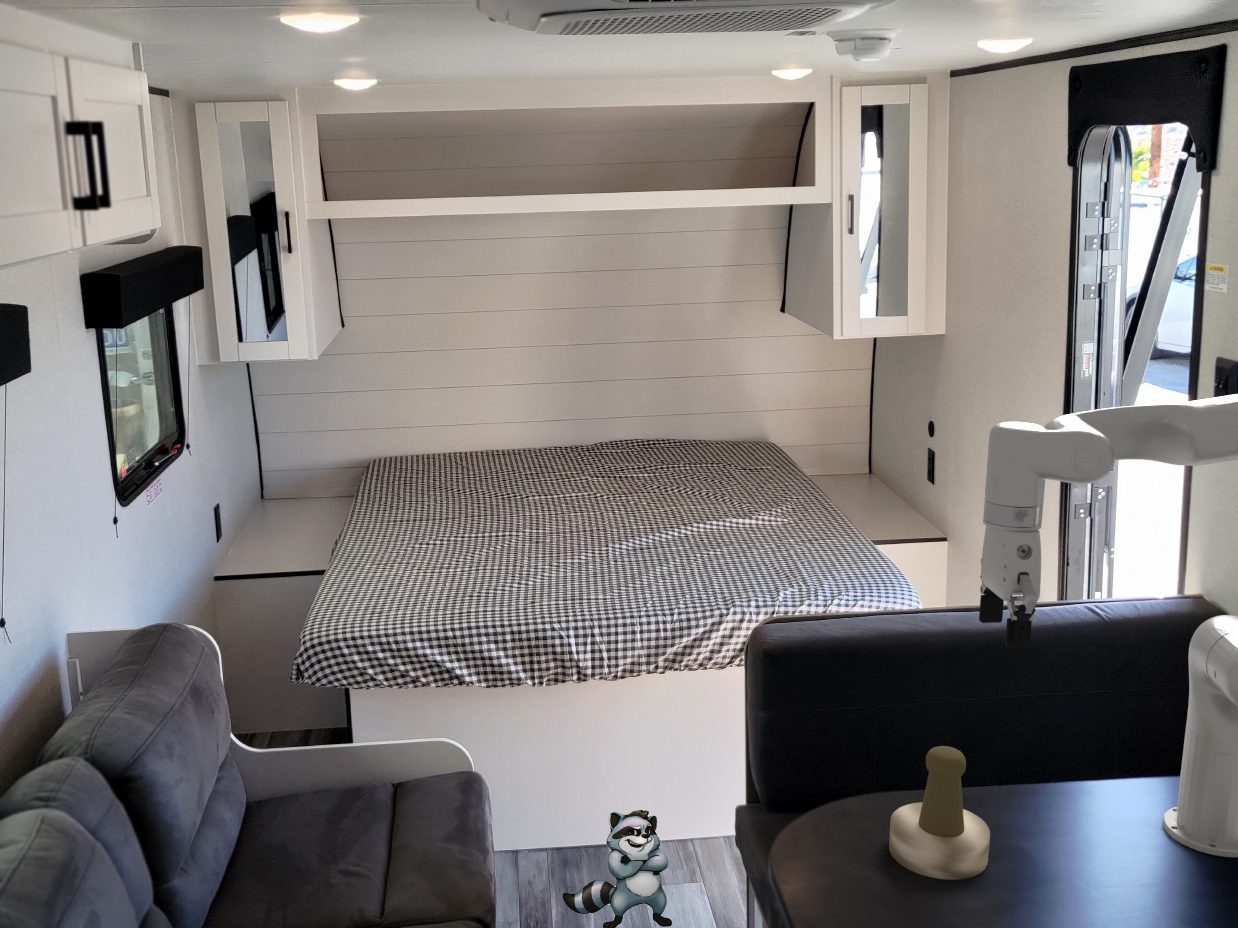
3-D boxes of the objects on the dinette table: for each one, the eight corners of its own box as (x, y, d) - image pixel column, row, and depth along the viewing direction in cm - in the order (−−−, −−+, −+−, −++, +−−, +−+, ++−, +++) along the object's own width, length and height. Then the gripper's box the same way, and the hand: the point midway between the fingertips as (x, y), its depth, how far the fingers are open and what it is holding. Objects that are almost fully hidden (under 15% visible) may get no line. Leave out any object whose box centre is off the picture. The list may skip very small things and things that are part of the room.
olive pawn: (960, 815, 159) (965, 741, 156) (968, 838, 153) (974, 761, 150) (915, 813, 159) (919, 739, 157) (922, 835, 153) (927, 759, 151)
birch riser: (968, 826, 163) (970, 800, 163) (1002, 878, 151) (1005, 850, 150) (877, 828, 163) (879, 802, 162) (904, 880, 150) (906, 852, 149)
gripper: (1067, 530, 147) (1056, 657, 151) (1015, 498, 164) (1006, 612, 168) (1010, 531, 147) (1000, 657, 151) (963, 499, 164) (955, 613, 167)
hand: (1003, 634), depth 159 cm, fingers open, 9 cm apart
